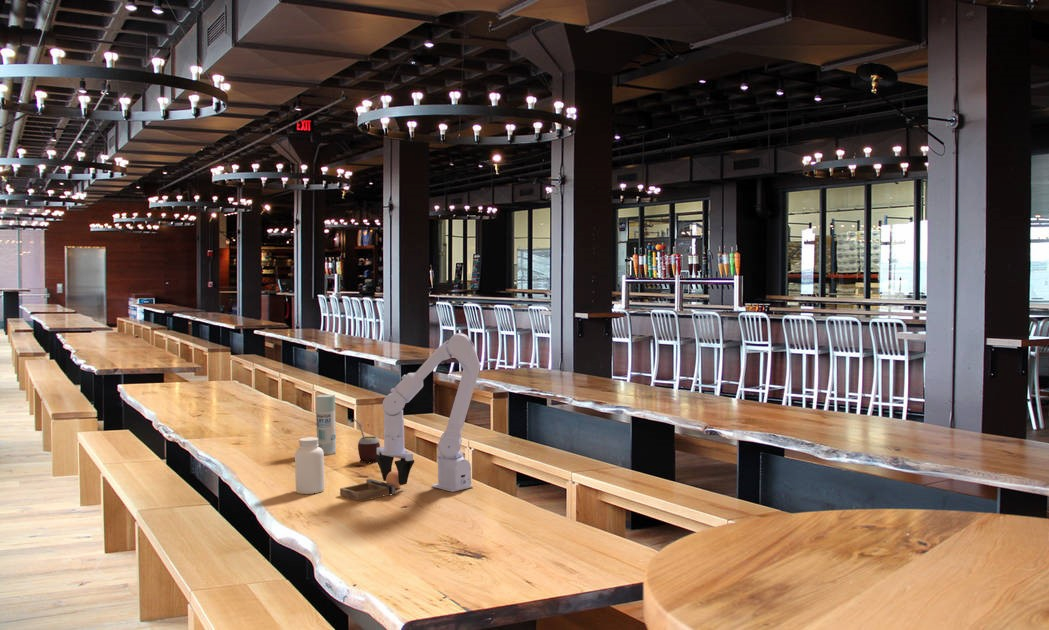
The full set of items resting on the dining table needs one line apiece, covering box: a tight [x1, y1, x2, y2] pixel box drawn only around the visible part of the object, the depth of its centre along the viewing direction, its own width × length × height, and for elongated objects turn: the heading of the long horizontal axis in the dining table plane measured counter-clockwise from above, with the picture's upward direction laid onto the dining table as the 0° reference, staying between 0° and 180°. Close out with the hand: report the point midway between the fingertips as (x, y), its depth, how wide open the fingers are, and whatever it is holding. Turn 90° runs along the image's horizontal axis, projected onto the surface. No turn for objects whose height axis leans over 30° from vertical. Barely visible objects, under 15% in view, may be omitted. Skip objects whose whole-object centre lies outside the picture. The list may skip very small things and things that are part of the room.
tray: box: [339, 482, 390, 502], centre depth 241 cm, size 10×10×2 cm
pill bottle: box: [294, 436, 325, 495], centre depth 246 cm, size 8×8×15 cm
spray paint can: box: [315, 394, 337, 456], centre depth 299 cm, size 6×6×20 cm
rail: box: [365, 478, 396, 495], centre depth 245 cm, size 12×1×2 cm, turn 46°
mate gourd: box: [352, 418, 381, 464], centre depth 284 cm, size 8×8×15 cm
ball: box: [385, 469, 402, 489], centre depth 249 cm, size 5×5×5 cm
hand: (394, 482), depth 249 cm, fingers open, 7 cm apart
